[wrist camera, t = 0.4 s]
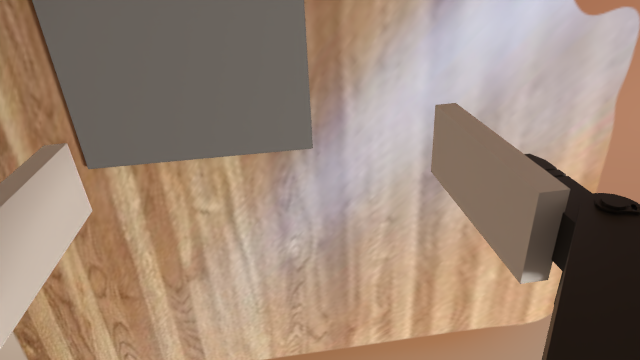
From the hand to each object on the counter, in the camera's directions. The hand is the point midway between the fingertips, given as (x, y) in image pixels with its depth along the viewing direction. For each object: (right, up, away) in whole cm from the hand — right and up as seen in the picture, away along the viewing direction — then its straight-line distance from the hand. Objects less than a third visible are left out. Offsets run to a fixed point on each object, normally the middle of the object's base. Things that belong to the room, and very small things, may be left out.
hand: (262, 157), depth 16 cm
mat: (-10, +9, +23) cm, 27 cm away
